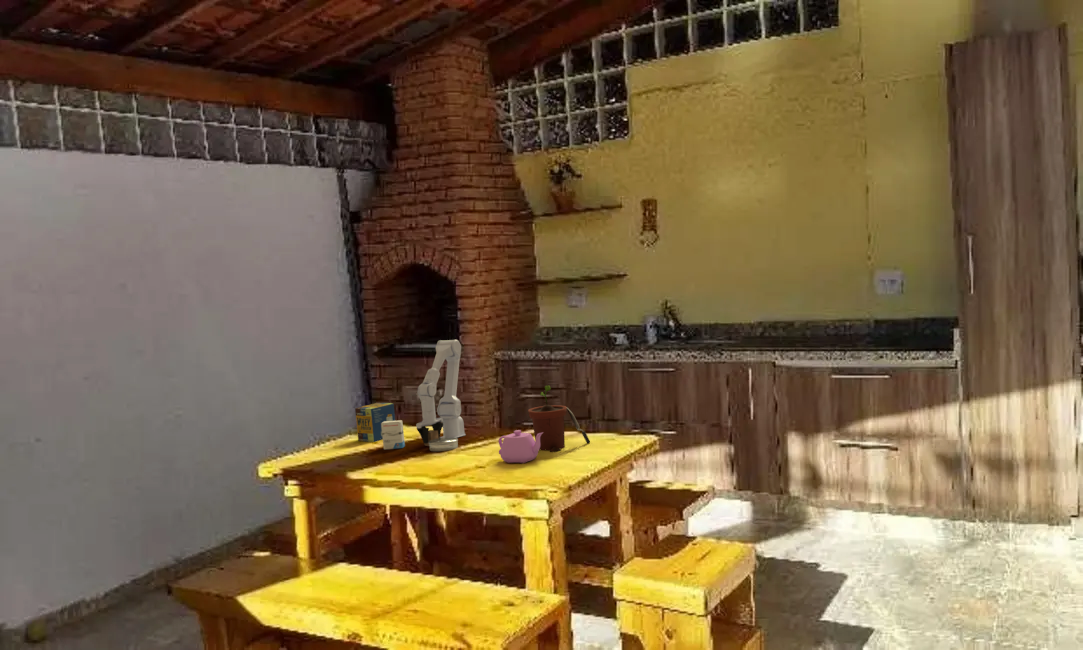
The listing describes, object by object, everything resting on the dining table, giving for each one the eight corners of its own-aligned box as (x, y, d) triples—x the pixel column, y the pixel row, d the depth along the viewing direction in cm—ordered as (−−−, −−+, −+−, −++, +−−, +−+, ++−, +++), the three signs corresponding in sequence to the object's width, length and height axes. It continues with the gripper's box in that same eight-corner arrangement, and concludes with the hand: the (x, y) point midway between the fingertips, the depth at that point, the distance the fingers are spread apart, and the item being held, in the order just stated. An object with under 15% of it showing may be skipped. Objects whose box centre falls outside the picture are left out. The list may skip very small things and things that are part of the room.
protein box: (357, 441, 410) (354, 408, 409) (381, 434, 423) (378, 402, 422) (373, 442, 404) (370, 408, 403) (397, 435, 417) (394, 402, 416)
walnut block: (431, 443, 390) (430, 430, 390) (439, 443, 387) (437, 430, 387) (424, 445, 386) (423, 432, 386) (431, 446, 384) (430, 432, 383)
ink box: (405, 446, 389) (402, 419, 388) (402, 448, 384) (400, 421, 383) (386, 447, 390) (383, 420, 389) (383, 449, 385) (380, 422, 384)
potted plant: (543, 442, 372) (538, 383, 371) (590, 442, 362) (586, 382, 361) (524, 451, 356) (518, 390, 355) (572, 452, 347) (567, 389, 345)
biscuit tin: (443, 444, 386) (442, 436, 386) (464, 446, 378) (463, 438, 378) (423, 450, 376) (422, 442, 376) (444, 452, 368) (443, 444, 368)
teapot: (491, 464, 338) (488, 434, 337) (507, 456, 350) (505, 427, 349) (538, 465, 329) (536, 434, 329) (553, 457, 341) (550, 427, 341)
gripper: (433, 407, 394) (436, 437, 395) (410, 413, 383) (413, 444, 383) (445, 407, 390) (448, 438, 391) (421, 414, 378) (424, 445, 379)
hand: (431, 441), depth 387 cm, fingers open, 7 cm apart
